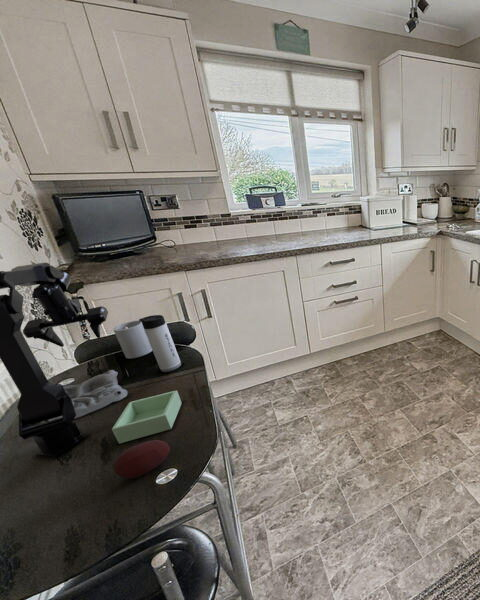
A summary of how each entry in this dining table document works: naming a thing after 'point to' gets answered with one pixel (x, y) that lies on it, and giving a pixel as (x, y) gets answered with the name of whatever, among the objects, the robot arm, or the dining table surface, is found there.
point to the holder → (147, 416)
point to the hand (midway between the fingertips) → (81, 341)
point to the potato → (141, 459)
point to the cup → (133, 339)
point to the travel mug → (161, 342)
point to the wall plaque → (94, 393)
